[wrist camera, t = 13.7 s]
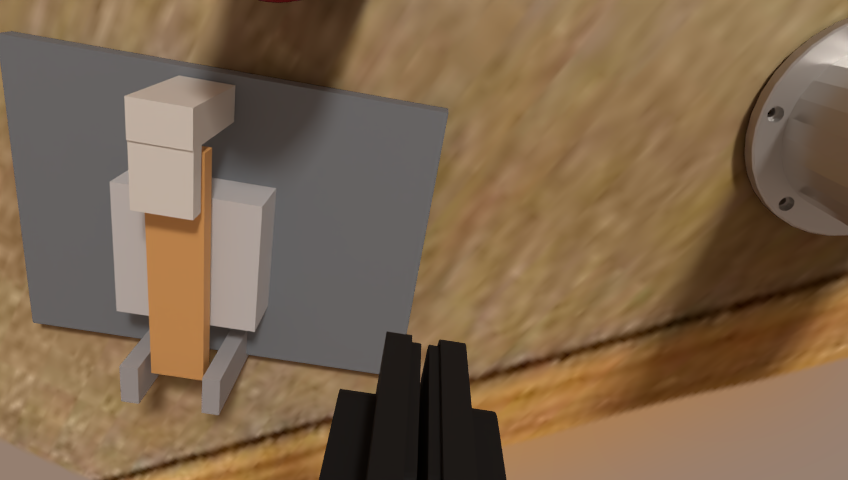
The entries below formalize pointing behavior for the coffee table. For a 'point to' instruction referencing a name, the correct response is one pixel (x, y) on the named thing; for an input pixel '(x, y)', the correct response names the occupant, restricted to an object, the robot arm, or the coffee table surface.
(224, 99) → the block
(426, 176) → the board
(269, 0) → the soda can
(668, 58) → the coffee table surface
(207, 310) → the strap
